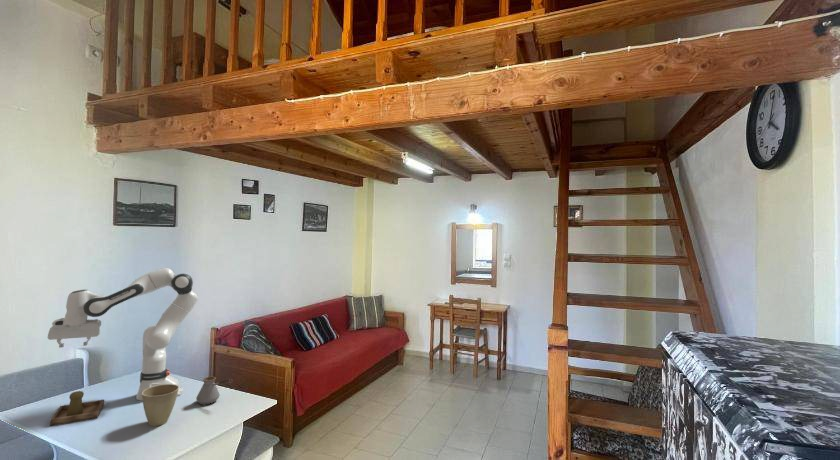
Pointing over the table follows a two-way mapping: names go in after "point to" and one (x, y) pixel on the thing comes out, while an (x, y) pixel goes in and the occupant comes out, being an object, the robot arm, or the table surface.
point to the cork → (75, 404)
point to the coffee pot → (209, 391)
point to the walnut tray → (89, 412)
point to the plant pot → (159, 403)
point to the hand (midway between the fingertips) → (73, 346)
